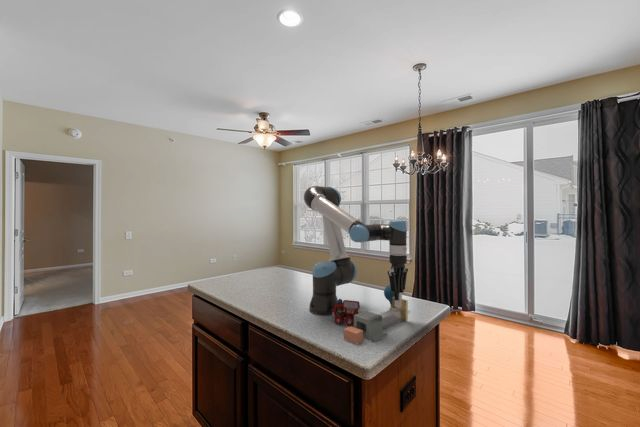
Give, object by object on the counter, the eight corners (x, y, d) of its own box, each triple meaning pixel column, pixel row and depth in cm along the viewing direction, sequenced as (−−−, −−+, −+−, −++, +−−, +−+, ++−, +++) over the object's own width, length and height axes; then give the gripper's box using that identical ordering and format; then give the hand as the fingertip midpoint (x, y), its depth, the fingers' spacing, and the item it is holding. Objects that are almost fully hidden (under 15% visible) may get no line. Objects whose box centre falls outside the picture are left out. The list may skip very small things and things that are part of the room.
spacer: (363, 341, 107) (356, 344, 104) (350, 336, 112) (344, 339, 109) (363, 330, 107) (356, 333, 104) (350, 326, 112) (344, 329, 109)
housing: (374, 341, 106) (374, 322, 106) (349, 331, 116) (349, 313, 116) (387, 335, 112) (387, 317, 112) (362, 326, 121) (362, 309, 121)
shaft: (374, 335, 111) (374, 312, 111) (360, 330, 116) (360, 308, 116) (407, 320, 127) (407, 300, 127) (394, 316, 132) (394, 296, 132)
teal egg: (401, 311, 139) (401, 287, 139) (384, 310, 140) (384, 286, 140) (400, 306, 147) (400, 283, 147) (383, 305, 149) (383, 282, 149)
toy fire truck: (335, 318, 131) (335, 295, 131) (361, 322, 125) (361, 299, 125) (329, 323, 124) (329, 299, 124) (357, 328, 119) (356, 303, 119)
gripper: (396, 256, 121) (397, 312, 121) (413, 253, 129) (413, 305, 129) (382, 254, 126) (382, 307, 126) (399, 252, 135) (399, 301, 135)
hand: (398, 306), depth 128 cm, fingers closed
